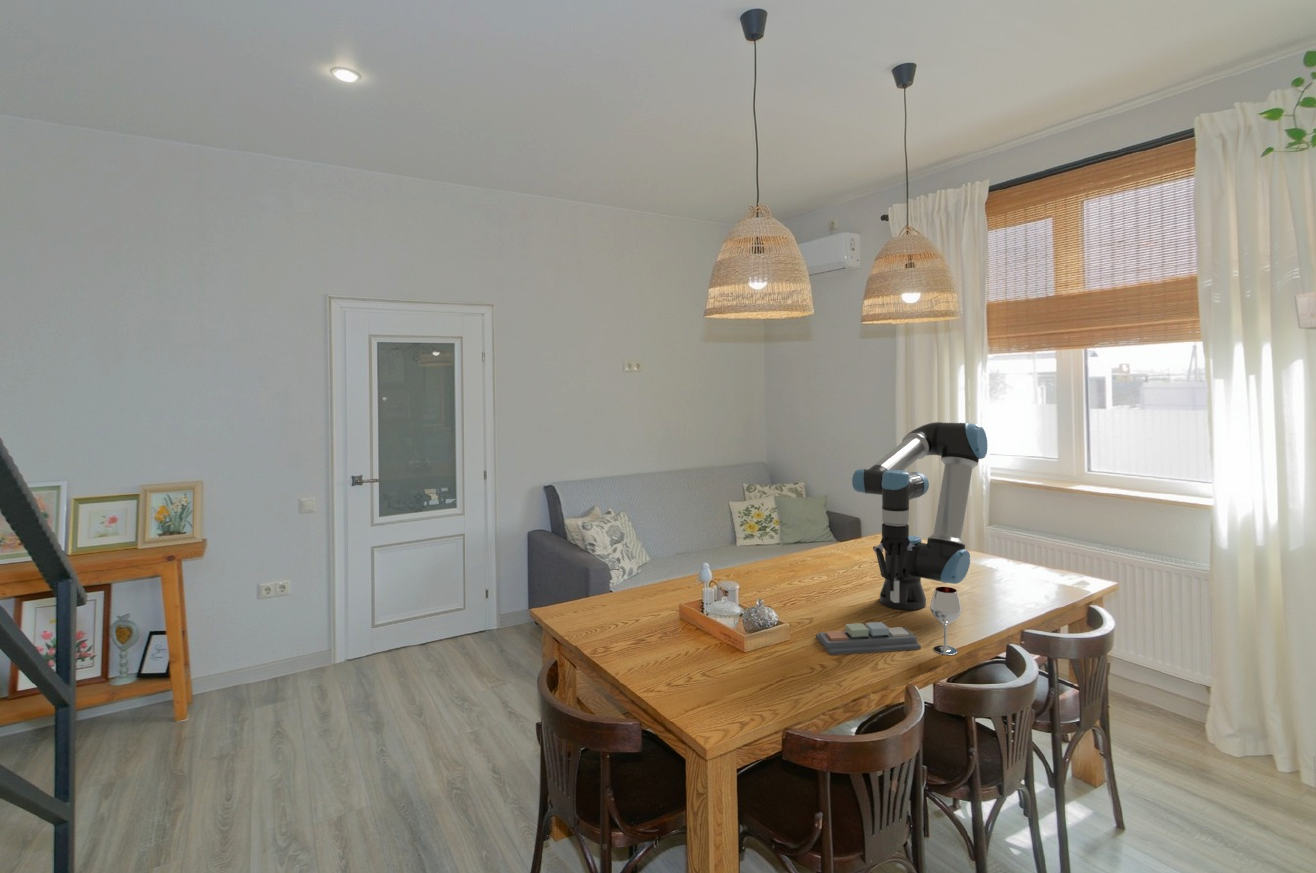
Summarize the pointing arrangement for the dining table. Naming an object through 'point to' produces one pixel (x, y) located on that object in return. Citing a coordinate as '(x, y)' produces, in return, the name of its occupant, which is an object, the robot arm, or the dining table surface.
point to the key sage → (856, 630)
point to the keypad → (868, 643)
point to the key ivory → (898, 632)
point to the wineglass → (945, 613)
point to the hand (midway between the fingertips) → (894, 600)
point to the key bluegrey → (877, 628)
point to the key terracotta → (836, 636)
